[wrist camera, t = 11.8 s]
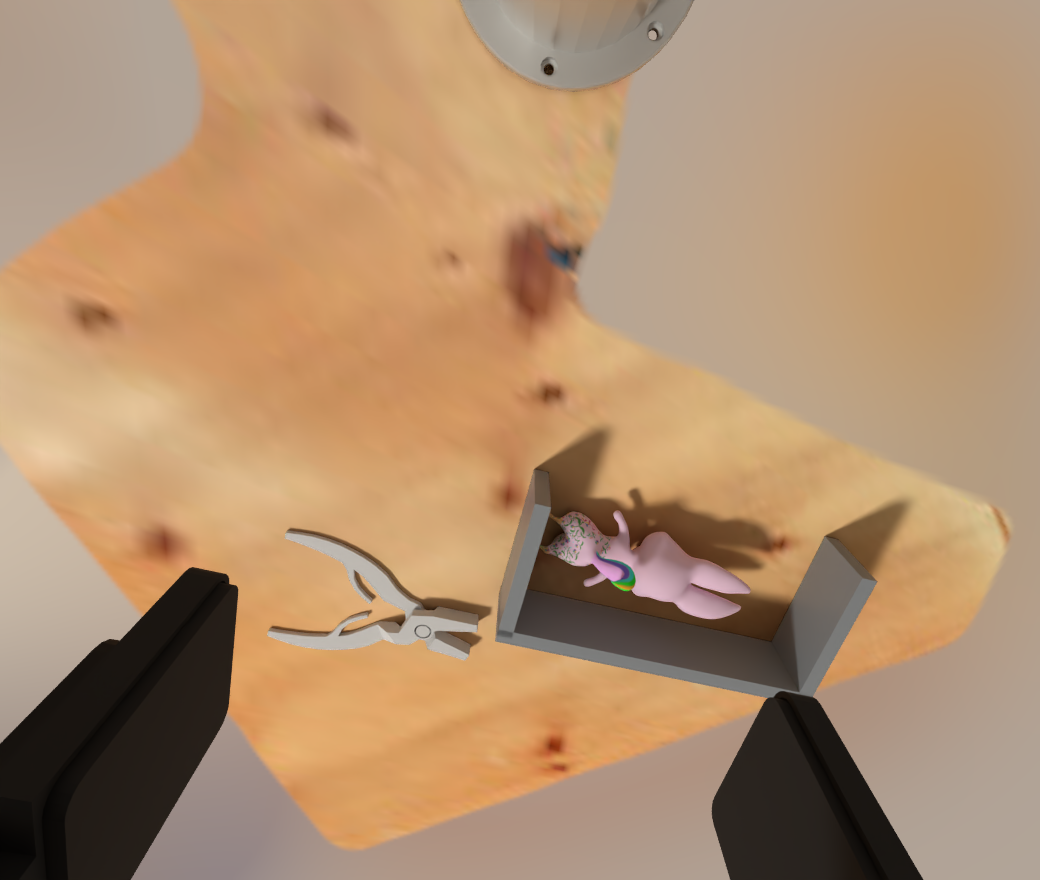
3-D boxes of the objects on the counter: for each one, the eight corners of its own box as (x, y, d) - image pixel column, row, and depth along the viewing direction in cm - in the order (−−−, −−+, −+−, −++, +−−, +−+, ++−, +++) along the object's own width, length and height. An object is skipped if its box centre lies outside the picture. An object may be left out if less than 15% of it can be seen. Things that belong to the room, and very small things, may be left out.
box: (534, 468, 40) (534, 503, 35) (838, 539, 41) (877, 581, 37) (498, 594, 43) (495, 641, 39) (778, 654, 45) (807, 706, 40)
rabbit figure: (528, 546, 44) (721, 620, 43) (514, 591, 38) (736, 677, 37) (556, 473, 41) (761, 550, 41) (545, 510, 36) (782, 599, 35)
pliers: (281, 536, 40) (491, 590, 42) (290, 524, 42) (492, 577, 43) (262, 646, 44) (456, 693, 45) (270, 632, 45) (458, 677, 47)
